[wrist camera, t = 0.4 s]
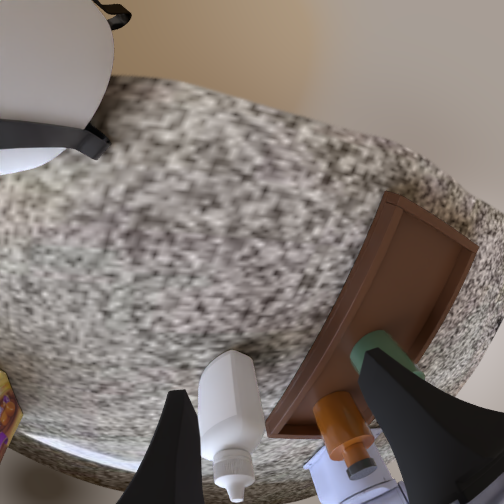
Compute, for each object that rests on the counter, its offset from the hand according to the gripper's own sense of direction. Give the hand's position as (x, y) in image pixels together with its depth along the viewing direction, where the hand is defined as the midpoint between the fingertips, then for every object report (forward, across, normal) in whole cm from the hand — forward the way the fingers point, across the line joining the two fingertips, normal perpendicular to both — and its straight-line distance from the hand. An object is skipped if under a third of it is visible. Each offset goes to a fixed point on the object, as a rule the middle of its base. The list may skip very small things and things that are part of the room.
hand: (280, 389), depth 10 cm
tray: (+9, -11, +9) cm, 17 cm away
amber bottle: (+8, -7, +16) cm, 19 cm away
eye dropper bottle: (+10, +3, +9) cm, 14 cm away
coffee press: (+13, +12, -16) cm, 24 cm away
